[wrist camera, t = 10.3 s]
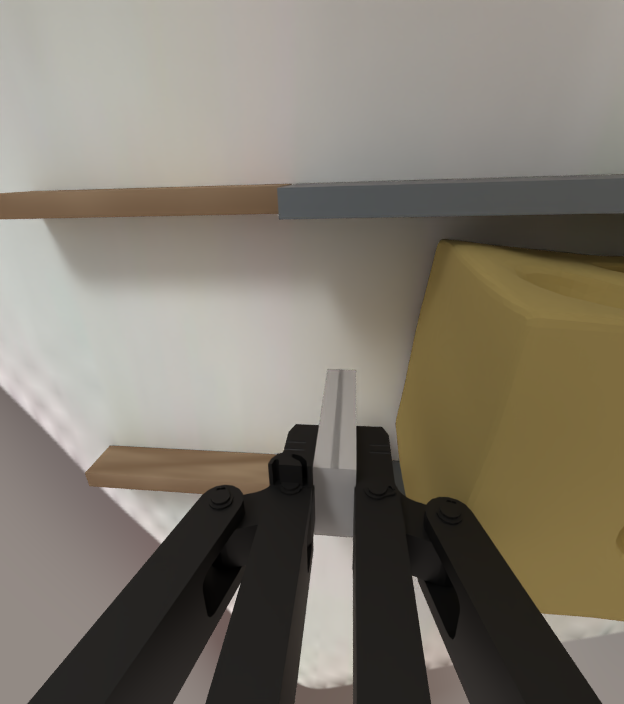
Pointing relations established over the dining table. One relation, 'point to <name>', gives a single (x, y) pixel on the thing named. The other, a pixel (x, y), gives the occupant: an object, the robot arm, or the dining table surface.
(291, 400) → the dining table surface
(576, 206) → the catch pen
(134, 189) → the lane rails
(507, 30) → the dining table surface
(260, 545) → the robot arm
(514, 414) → the cheese
